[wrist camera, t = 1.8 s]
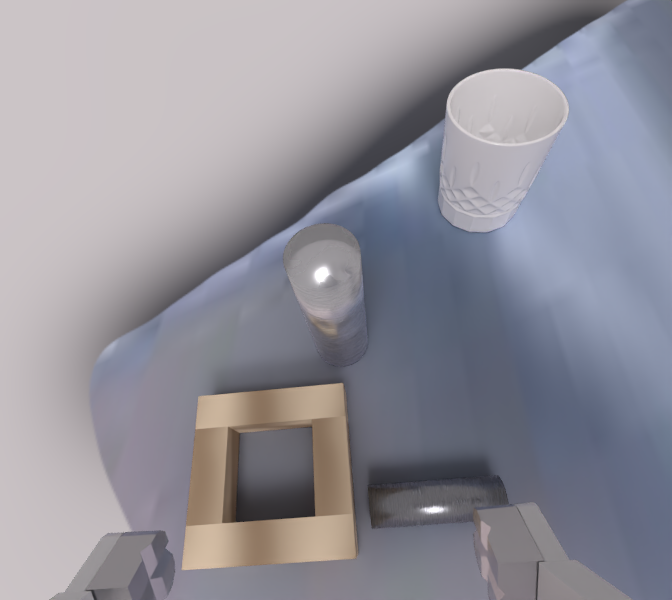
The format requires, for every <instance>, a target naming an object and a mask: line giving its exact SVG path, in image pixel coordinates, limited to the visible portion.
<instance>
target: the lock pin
mask: <svg viewBox="0 0 672 600" xmlns="http://www.w3.org/2000/svg"><path fill="white" fill-rule="evenodd" d="M368 495H369V506H370V516H371V525H372V529H377V528H391V527H405V526H419V525H433V524H447V523H461V522H474V521H473V509H474V507H485V506H497V505H509V504H508V499H507V494H506V491H505V488H504V485H503V483H502V480H501V479H500V477H499V476H498V475H494V476H481V477H468V478H455V479H442V480H430V481H417V482H404V483H391V484H378V485H368Z"/></svg>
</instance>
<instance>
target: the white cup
mask: <svg viewBox="0 0 672 600" xmlns="http://www.w3.org/2000/svg"><path fill="white" fill-rule="evenodd" d="M568 113H569V105H568V101H567V99H566V97H565V95H564V93H563V92H562V91H561V90H560V89H559V87H557V86H556V85H555V84H554V83H552V82H551V81H550V80H548V79H546V78H544V77H542V76H540V75H537V74H535V73H532V72H528V71H524V70H517V69H492V70H486V71H482V72H478V73H476V74H473V75H471V76H469V77H467V78H465V79H463V80H462V81H460V82H459V83H458V84H457V85H456V86H455V87H454V88H453V89H452V91H451V92H450V94H449V96H448V100H447V106H446V116H445V125H444V135H443V143H442V152H441V165H440V187H439V195H438V204H439V207H440V210H441V214H442V215H443V216H444V217H445V218H446V219H447V220H448V221H449V222H450V223H451V224H452V225H453V226H455V227H458V228H460V229H463V230H466V231H468V232H490V231H493V230H495V229H498V228H501V227H504V226H505V225H506V224H507V222H508V221H509V220H510V219H511V218H512V217H513V216H514V215H515V213H516V211H517V209H518V207H519V205H520V203H521V201H522V200H523V199H524V197H525V196H526V194H527V192H528V191H529V189H530V187H531V185H532V183H533V182H534V180H535V178H536V177H537V175H538V173H539V171H540V169H541V167H542V165H543V164H544V162H545V160H546V158H547V156H548V154H549V152H550V150H551V148H552V146H553V145H554V143H555V141H556V139H557V137H558V135H559V133H560V131H561V130H562V128H563V126H564V124H565V122H566V120H567V118H568Z"/></svg>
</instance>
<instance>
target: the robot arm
mask: <svg viewBox="0 0 672 600" xmlns="http://www.w3.org/2000/svg"><path fill="white" fill-rule="evenodd" d="M473 521H474V524H475V526H476V529H477V530H476V531H475V532H474V533H473V537H474V548H475V554H476V559H477V563H478V566H479V570H480V573H481V576H482V577H483V578H484V579H485V580H486V581H487V582H488V596H489V599H490V600H632V599H631V598H630V597H628V596H627V595H625V594H624V593H623V592H621V591H620V590H618V589H617V588H615V587H614V586H613V585H611V584H610V583H608V582H607V581H606V580H604V579H603V578H601V577H600V576H598V575H597V574H596V573H594V572H593V571H591V570H590V569H589V568H587V567H586V566H584V565H583V564H581V563H580V562H579V561H577V560H569V558H568V556H567V554H566V553H565V551H564V549H563V548H562V546H561V544H560V543H559V541H558V539H557V538H556V536H555V534H554V532H553V531H552V529H551V527H550V526H549V524H548V522H547V521H546V519H545V517H544V516H543V514H542V512H541V510H540V509H539V507H538V505H536V504H535V503H534V502H533V503H521V504H514V505H512V504H509V505H497V506H485V507H474V509H473ZM167 543H168V538H167V536H166V533H165V531H138V532H125V533H108V534H106V535H105V536H103V537H102V538H101V539H100V541H99V542H98V544H97V545H96V547H95V548H94V550H93V551H92V553H91V554H90V556H89V557H88V558H87V560H86V562H85V563H84V564H83V566H82V567H81V569H80V570H79V572H78V573H77V575H76V576H75V577H74V579H73V580H72V582H71V583H70V585H69V586H68V588H67V589H66V591H65V592H64V593H58V594H56V595H55V596H54V597H52V598H51V599H50V600H164V599H165V598H166V597H167V596H168V595H169V592H170V590H171V587H172V585H173V580H174V574H175V561H174V558H173V554H172V553H170V552H169V551H168V550H167V549H166V548H165V547H166V545H167Z"/></svg>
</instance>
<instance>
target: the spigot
mask: <svg viewBox="0 0 672 600" xmlns="http://www.w3.org/2000/svg"><path fill="white" fill-rule="evenodd" d="M283 263H284V267H285V270H286V272H287V275H288V277H289V280H290V282H291V285H292V287H293V290H294V292H295V295H296V297H297V300H298V302H299V305H300V307H301V310H302V313H303V315H304V318H305V320H306V323H307V325H308V328H309V330H310V333H311V335H312V338H313V340H314V343H315V345H316V348H317V350H318V353H319V354H320V356H321V357H322V359H323V360H325V361H326V362H327V363H329V364H331V365H334V366H340V367H342V366H349V365H352V364H354V363H356V362H357V361H358V360H360V359H361V358H362V356H363V355H364V354H365V352H366V349H367V345H368V337H367V325H366V313H365V301H364V289H363V277H362V265H361V252H360V246H359V243H358V241H357V239H356V238H355V236H354V235H353V234H352V233H351V232H350V231H348V230H347V229H345V228H343V227H341V226H338V225H335V224H326V223H323V224H315V225H311V226H309V227H306V228H304V229H302V230H300V231H299V232H297V233H296V234H295V235H294V236H293V237H292V238H291V239H290V241H289V242H288V243H287V245H286V247H285V250H284V254H283Z"/></svg>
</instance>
